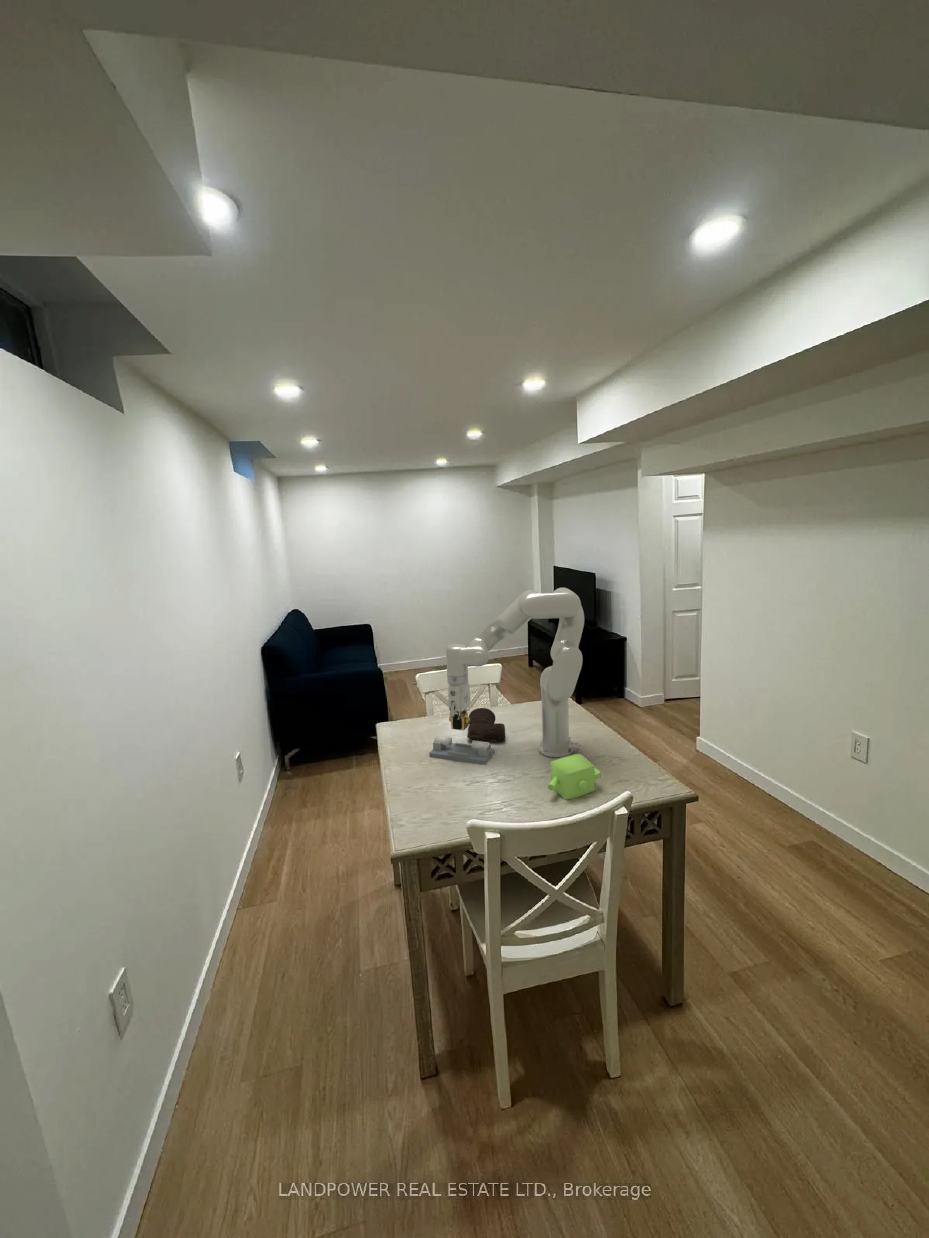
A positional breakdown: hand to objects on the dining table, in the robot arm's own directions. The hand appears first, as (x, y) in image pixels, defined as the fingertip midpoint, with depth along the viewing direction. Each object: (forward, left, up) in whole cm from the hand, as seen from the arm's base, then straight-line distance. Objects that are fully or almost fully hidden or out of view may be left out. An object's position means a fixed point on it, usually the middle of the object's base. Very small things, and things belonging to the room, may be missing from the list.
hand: (460, 725), depth 179 cm
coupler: (0, 0, -1) cm, 1 cm away
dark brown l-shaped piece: (-3, -18, -12) cm, 22 cm away
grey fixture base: (0, 0, -11) cm, 11 cm away
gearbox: (-43, +13, -12) cm, 46 cm away
